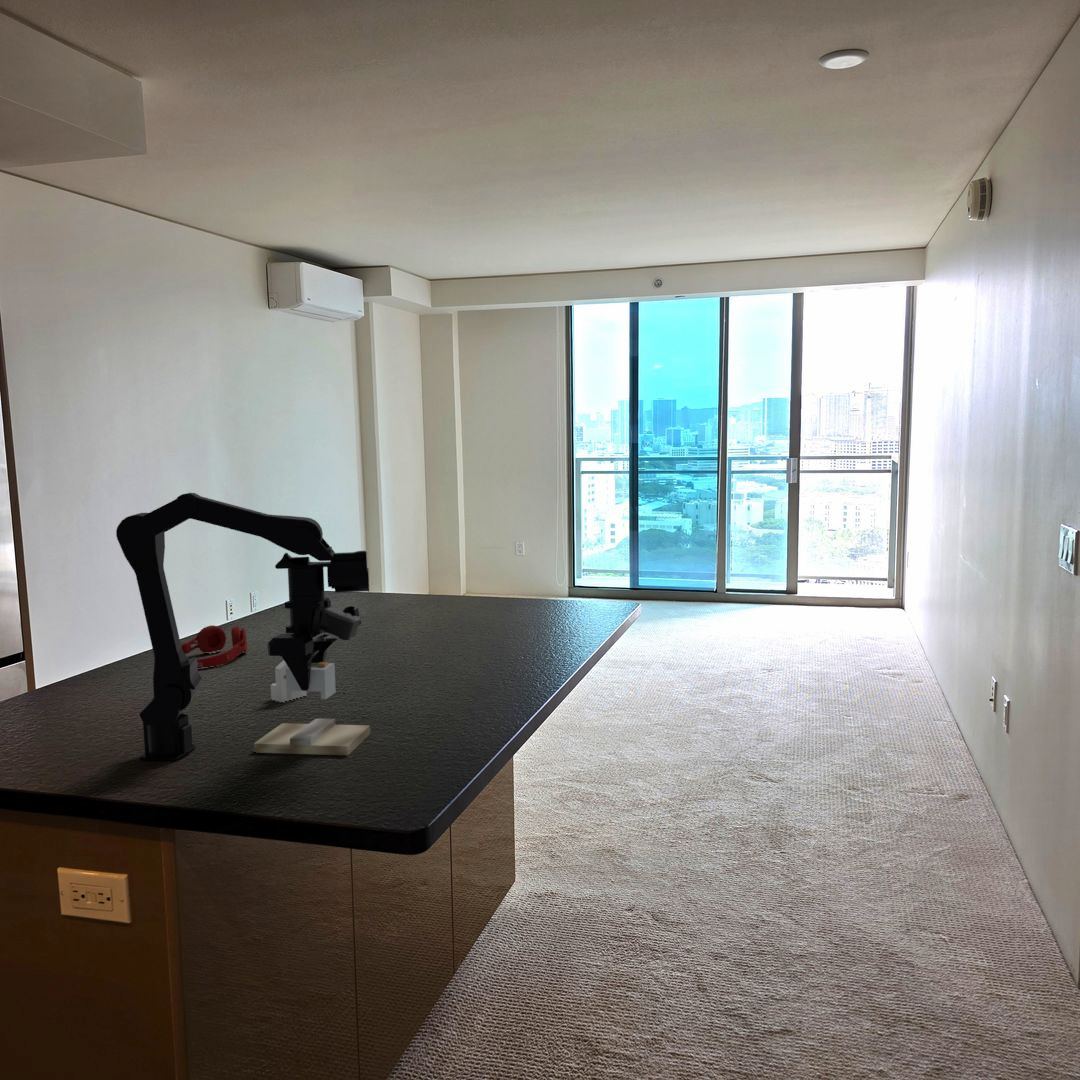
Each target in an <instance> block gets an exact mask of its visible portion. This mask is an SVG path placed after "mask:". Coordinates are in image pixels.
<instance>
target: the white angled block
mask: <svg viewBox="0 0 1080 1080" xmlns="http://www.w3.org/2000/svg"><path fill="white" fill-rule="evenodd" d="M286 668H288V666H287V664H286V663H285V661H284V660H282V661H281V662H280V663H279V664H278V665H277V666H276V667H274V671H275V672H274V673H275V674H274V675H275V683H272V684H270V695H271V696H270V697H271V698H270V699H272V700H271V701H274V700H275V702H278V701H279V702H278V703H281V702H283V703H286V702H285V701H287V702H290V701H289V700H291V701H294V700H293V699H295V700H297V699H296V698H298V699H301V698H300V697H302V698H304V697H303V696H306V697H308V694H307V692H308V691H302V692H301V693H299V694H298V695H296V696H295V697H293V698H292V699H287V688H286Z"/></svg>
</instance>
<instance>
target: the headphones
mask: <svg viewBox="0 0 1080 1080" xmlns="http://www.w3.org/2000/svg"><path fill="white" fill-rule="evenodd" d="M245 628H246V627H241V629H240V626H233V627H231V630H230V632H231V633H230V634H231V643H232V647H230V649H228V650H226V651H224V652H222V653H219V654H217V655H213V656H209V657H203V658H197V667H198V668H201V667H210V666H217V665H220V666H222V665H221V664H223V665H224V664H225V665H226V664H227V663H229V662H230V661H232V660H234V659H235V658H237V657H238V656H241V655H240V653H242V652H244V653H245V652H246V651H247V652H248V643H247V642H248V641H247V634H246V633H247V632H246V629H245ZM226 642H227V635H226V632H225V631H224V629H223V628H221V627H220V626H217V625H207V626H205V627H203V628H202V629H200V631H199V632H198V633H197V635H196V637H193V638H192V639H190V640H189V641H188V642H183V643H182V644H181V647H182V650H183V652H184V653H185V655H187V654H189V653H191V652H192V651H194V650H196V649H199V650H200V651H201V652H202V653H203V652H204V654H206V653H205V652H212V651H217V650H221V649H222V650H223V648H224V647H225V645H226ZM194 644H195V645H194ZM192 645H194V646H192ZM222 650H221V651H222ZM217 667H218V666H217Z"/></svg>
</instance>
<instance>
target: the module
mask: <svg viewBox="0 0 1080 1080" xmlns="http://www.w3.org/2000/svg"><path fill="white" fill-rule="evenodd" d="M335 670H336V669H335V662H328V661H325V662H320V663H311V671H310V682H309V689H308V690H307V691H306V692H317V693H318V692H319V693H320V700H328V699H329V698H330V697H331V696H333V694H336V690H337V689H336V671H335ZM286 688H287V699H292V698H293V697H295V696H296V695H298V694H299V693H301V692H302V691H304V690H301V688H300V686H299V685H298V683H297V681H296V679H295V678H294V676H293V674H292V672H291V671H290V669H289V667H288V668H286Z"/></svg>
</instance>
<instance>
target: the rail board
mask: <svg viewBox="0 0 1080 1080" xmlns="http://www.w3.org/2000/svg"><path fill="white" fill-rule="evenodd" d="M370 735H371V725H370V724H369V725H367V724H366V725H365V724H364V725H363V724H361V725H360V724H336V718H315V719H313V720H312V721H310V722H309V723H290V722H289V723H287V722H285V723H283V722H282V723H280V724H279V725H278V726H277V727H275V728H273V729H272V730H271V731H269V732H268V733H267V734H265V735H264V736H262V737H261V738H259V739H258V740H257V741H255V742H254V743H253V753H254V752H256V754H257V753H258V754H259V753H260V754H290V755H293V754H294V755H321V756H322V755H324V756H325V755H328V756H349V755H350V754H351V753H352V752H353V751H354V750H355V749H356V748H357V747H358V746H359V745H361V743H362V742H364V741H365V740H366V739H367V737H369V736H370Z"/></svg>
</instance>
